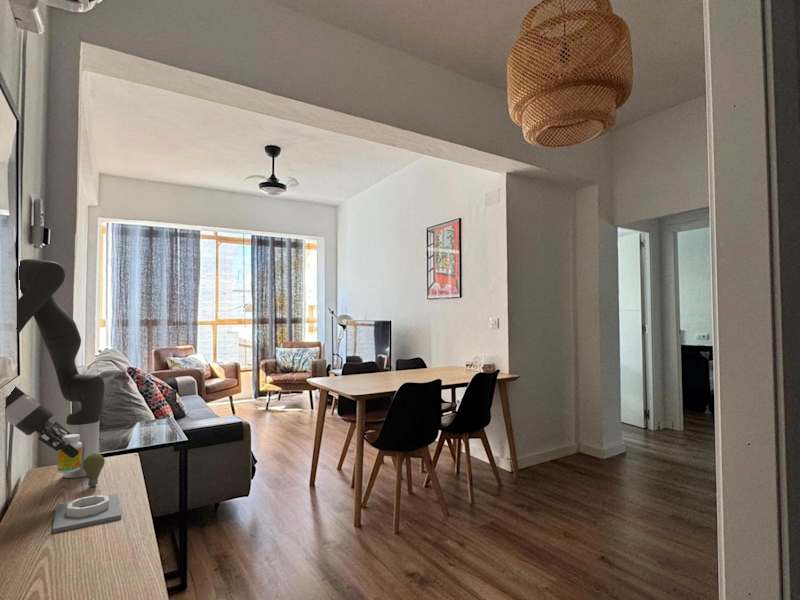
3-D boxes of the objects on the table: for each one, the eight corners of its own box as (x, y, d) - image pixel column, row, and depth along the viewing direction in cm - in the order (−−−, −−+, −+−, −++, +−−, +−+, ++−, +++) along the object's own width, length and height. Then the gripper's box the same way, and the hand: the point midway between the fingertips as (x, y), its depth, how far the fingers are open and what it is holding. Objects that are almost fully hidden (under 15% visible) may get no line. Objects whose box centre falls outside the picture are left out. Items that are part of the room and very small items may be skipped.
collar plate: (56, 508, 119) (57, 496, 119) (117, 497, 127) (117, 486, 128) (52, 533, 105) (53, 520, 105) (121, 518, 113) (121, 506, 113)
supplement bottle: (60, 474, 121) (62, 439, 121) (54, 470, 124) (56, 435, 124) (83, 469, 125) (85, 435, 125) (77, 465, 128) (79, 432, 129)
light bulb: (77, 487, 134) (79, 454, 135) (97, 482, 139) (98, 450, 140) (87, 491, 132) (89, 457, 133) (107, 485, 137) (108, 452, 137)
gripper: (33, 408, 116) (86, 448, 121) (45, 399, 128) (92, 436, 133) (6, 430, 113) (61, 470, 118) (20, 419, 125) (70, 456, 130)
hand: (77, 452), depth 126 cm, fingers closed on supplement bottle, 5 cm apart
